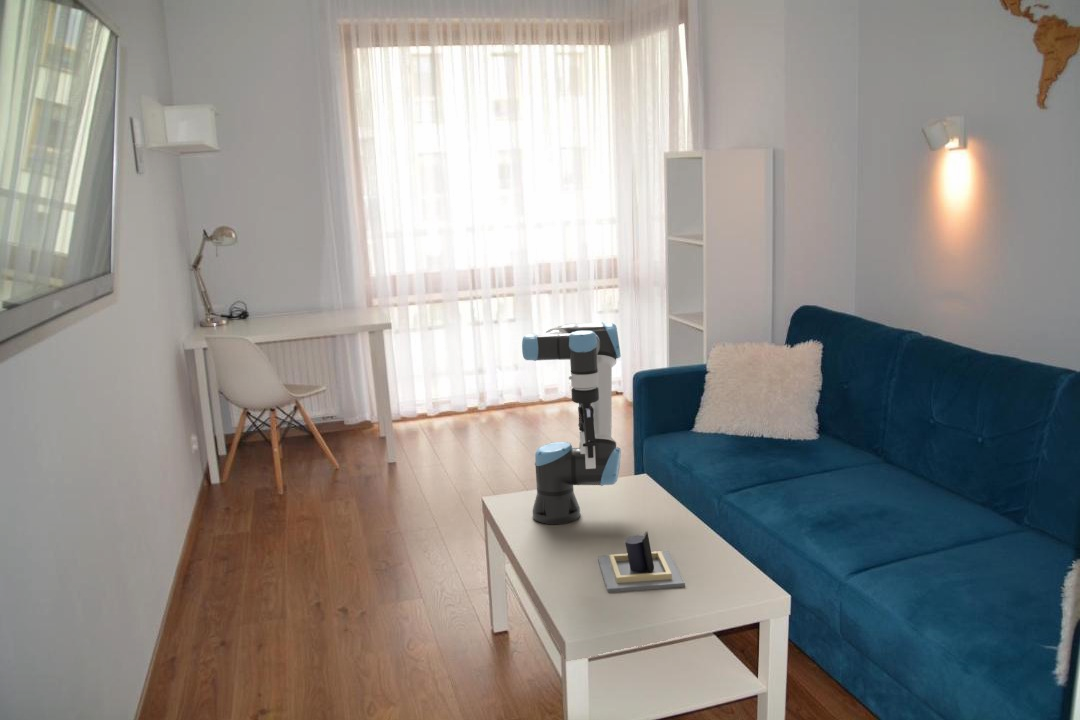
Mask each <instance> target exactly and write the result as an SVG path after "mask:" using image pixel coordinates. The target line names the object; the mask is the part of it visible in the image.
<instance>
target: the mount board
mask: <svg viewBox="0 0 1080 720" xmlns="http://www.w3.org/2000/svg"><path fill="white" fill-rule="evenodd" d="M651 554H652V559H653V565H654V569H653V571H652V573H649V572H648V570H645V571H642V572H634V571H632V570H631V569H630V565H629V560H628V554H627V553H615V554H609V555H599V556H597V560H598V564H599V567H600V572H601V574H602V577H603V580H604V585H605V584H606V585H605V587H606V591H607V593H615V592H616V593H617V591H620V592H630V591H631V592H633V591H644V590H646V589H647V590H657V589H658V590H659V589H670V588H671V589H672V588H684V587H686V582H685V580H684V578H683V577H682V574H681V573H680V570H679V569H678V566H677V565H676V563H675V561H674V558H673V556H672V554H671V552H670V551H669V550H667V551H662V550H658V551H657V550H656V551H655V550H654V551H651ZM632 590H633V591H632ZM647 590H646V591H647Z"/></svg>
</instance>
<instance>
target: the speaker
mask: <svg viewBox="0 0 1080 720" xmlns="http://www.w3.org/2000/svg"><path fill="white" fill-rule="evenodd" d="M624 543H625V549H626V554H628V560H629V565H630V569H631V570H632V571H634V572H642V571H645V570H648V572H649V573H652V571H653V569H654V565H653V559H652V554H651V552H652V551H651V549H652V548H651V546H650V545H651V544H650V539H649V533H648V531H645V532H644V535H642V534H641V535H640V534H639V535H638V534H637V535H633V536H629V537H627V538H626V539H625V541H624Z"/></svg>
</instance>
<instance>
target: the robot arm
mask: <svg viewBox="0 0 1080 720" xmlns="http://www.w3.org/2000/svg"><path fill="white" fill-rule="evenodd" d="M618 334H619V333H618V328H617V326H616V324H614V323H613V322H609V323H608V322H595V323H594V322H592V323H590V322H589V323H588V322H587V323H569V324H568V323H566V324H563V325H559V326H556V327H552V328H549V329H548V330H547V331H546V332H545V333H537V334H536V333H532V334H525V335H524V336H523V337H522V341H521V350H522V351H521V352H522V356H523V359H524V360H525V361H535V362H536V361H558V360H561V361H562V360H563V361H565V360H569V361H570V376H568V380H571V381H570V382H571V387H572V388H571V392H570V393H571V402H573V403H574V404H578V406H577V407H578V408H577V411H578V412H577V413H578V427H579V428H578V429H579V447H573V446H572V443H570V442H567V441H555V442H551V443H548V444H544V445H542V446H540V447H538V448H537V449H536V451H535V454H534V456H535V461H534V466H535V479H536V480H535V481H536V483H535V484H536V495H535V500H534V503H533V507H532V519H533V518H534V519H535V520H534V519H533V520H534V521H536V520H537V521H539V522H538V523H540V522H541V524H544V523H545V524H546V525H562V524H569V523H571V522H575V521H576V520H578V519H579V518H580V516H581V509H580V508H581V507H580V505H579V502H578V499H577V497H576V495H575V492H574V486H600V487H602V486H603V487H604V486H612V485H615V484H616V483H617V482H618V480H619V475H620V469H621V468H620V467H621V458H622V449H621V448H620V447H618V446H617V441H616V440H615V439H613V437H612V434H613V433H612V426H613V425H612V421H613V419H612V414H613V413H612V412H613V411H612V408H613V407H612V401H613V399H612V392H613V391H612V384H613V382H612V375H613V374H612V371H613V370H612V368H613V367H615V365H616V364H617V359H620V358H621V357H622V356H621V349H620V341H619V336H618ZM537 521H536V522H537ZM545 524H544V525H545Z"/></svg>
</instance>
